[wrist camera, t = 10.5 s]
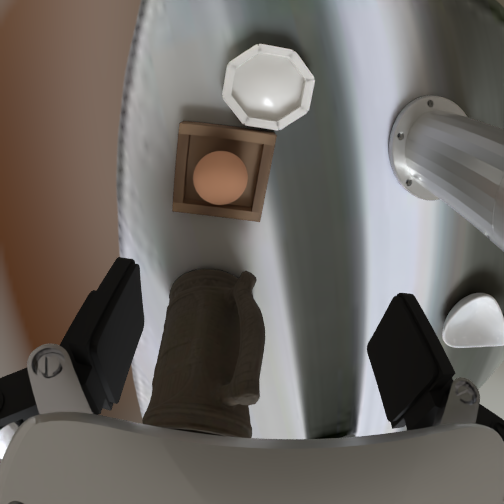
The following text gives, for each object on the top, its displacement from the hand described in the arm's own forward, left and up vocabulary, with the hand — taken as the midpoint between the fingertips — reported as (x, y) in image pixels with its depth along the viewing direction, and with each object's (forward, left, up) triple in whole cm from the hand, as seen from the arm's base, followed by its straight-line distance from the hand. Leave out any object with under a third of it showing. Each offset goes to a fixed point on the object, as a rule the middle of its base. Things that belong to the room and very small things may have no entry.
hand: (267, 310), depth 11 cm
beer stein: (+1, +17, -22) cm, 28 cm away
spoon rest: (-47, +18, -23) cm, 55 cm away
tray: (+2, +2, -22) cm, 22 cm away
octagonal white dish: (-1, -7, -22) cm, 23 cm away
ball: (+2, +2, -21) cm, 22 cm away
